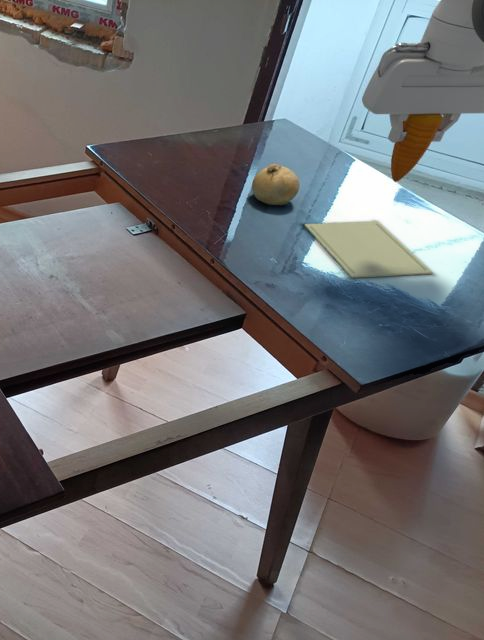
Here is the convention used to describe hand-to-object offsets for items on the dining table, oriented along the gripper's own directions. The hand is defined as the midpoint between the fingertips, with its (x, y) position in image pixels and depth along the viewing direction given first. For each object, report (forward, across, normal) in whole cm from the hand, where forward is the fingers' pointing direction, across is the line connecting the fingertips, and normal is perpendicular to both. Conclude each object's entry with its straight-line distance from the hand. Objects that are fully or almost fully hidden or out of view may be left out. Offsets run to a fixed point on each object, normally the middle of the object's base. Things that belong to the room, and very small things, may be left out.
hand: (413, 140), depth 102 cm
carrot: (+7, 0, 0) cm, 7 cm away
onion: (+19, -9, +17) cm, 27 cm away
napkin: (+19, 0, 0) cm, 19 cm away
